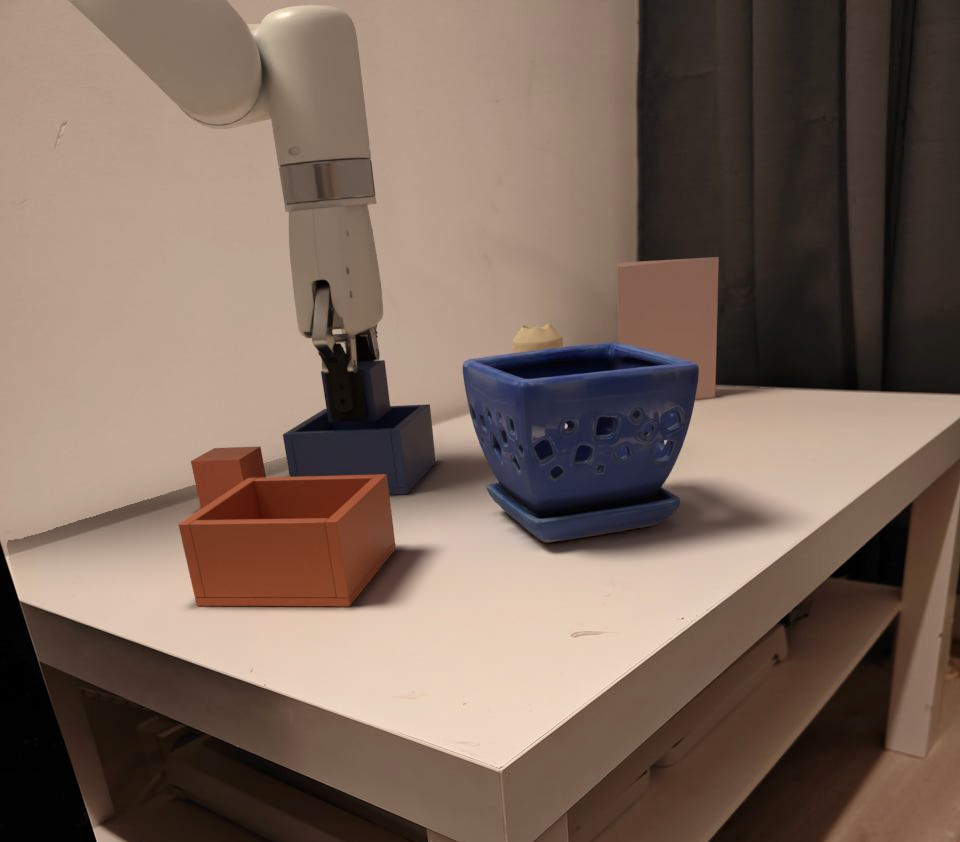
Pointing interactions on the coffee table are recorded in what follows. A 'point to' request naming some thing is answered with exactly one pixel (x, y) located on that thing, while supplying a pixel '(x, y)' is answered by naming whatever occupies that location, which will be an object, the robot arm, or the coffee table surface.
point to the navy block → (368, 391)
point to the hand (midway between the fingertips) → (358, 410)
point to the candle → (536, 339)
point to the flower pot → (582, 435)
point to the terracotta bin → (290, 541)
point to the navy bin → (365, 447)
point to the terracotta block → (225, 470)
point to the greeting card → (672, 311)
